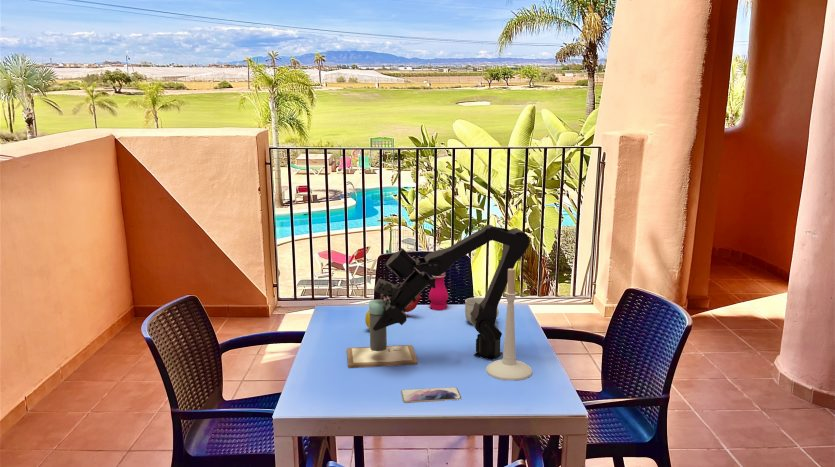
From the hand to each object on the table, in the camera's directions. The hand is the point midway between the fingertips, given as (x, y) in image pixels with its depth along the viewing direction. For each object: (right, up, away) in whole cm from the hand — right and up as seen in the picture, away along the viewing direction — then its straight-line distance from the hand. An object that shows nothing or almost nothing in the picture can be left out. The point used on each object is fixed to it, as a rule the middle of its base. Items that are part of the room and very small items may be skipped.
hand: (373, 326), depth 192 cm
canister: (+1, -6, +1) cm, 7 cm away
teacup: (+35, -4, +35) cm, 50 cm away
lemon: (-2, -6, +28) cm, 29 cm away
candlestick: (+38, -12, -6) cm, 41 cm away
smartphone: (+16, -15, -21) cm, 31 cm away
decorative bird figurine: (+7, -2, +45) cm, 45 cm away
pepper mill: (+21, -1, +54) cm, 57 cm away
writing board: (+2, -10, +5) cm, 11 cm away
